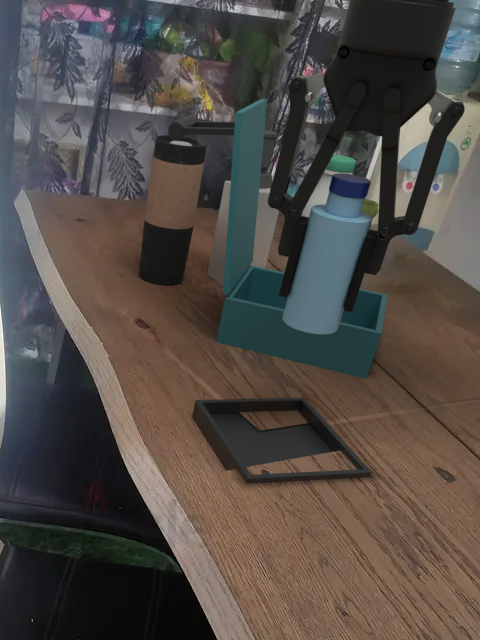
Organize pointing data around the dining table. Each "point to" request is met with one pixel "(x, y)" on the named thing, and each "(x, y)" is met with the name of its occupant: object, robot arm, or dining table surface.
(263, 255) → the soap dispenser
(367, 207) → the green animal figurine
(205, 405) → the tray
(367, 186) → the water bottle
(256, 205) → the lid
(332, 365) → the teal box
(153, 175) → the travel mug
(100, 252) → the dining table surface
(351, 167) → the milk bottle
